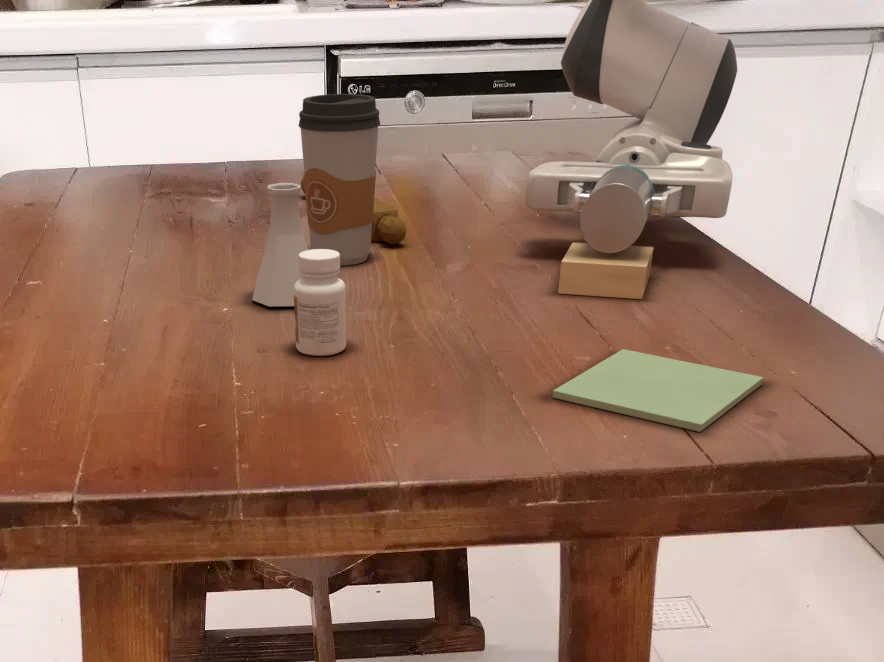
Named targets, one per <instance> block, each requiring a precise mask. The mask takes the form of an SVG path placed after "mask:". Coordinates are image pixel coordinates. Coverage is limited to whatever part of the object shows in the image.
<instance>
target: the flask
mask: <svg viewBox="0 0 884 662" xmlns="http://www.w3.org/2000/svg"><path fill="white" fill-rule="evenodd" d="M266 190H267V194H268V195H269V196H270V222H269V227H268V228H269V230H268V235H267V239H266V243H265V247H264V253H263V256H262V259H261V264H260V267H259V271H258V274H257V278H256V281H255V286H254V290H253V295H252V301H254V302H257V303H259V304H262V305H264V306H267V307H294V285H295V283H296V282H297V281H298V280H299V279H301V274H299V254H300V253H301V252H303V251H307V250H310V249H309V246H308V243H307V240H306V237H305V234H304V230H303V226H302V221H301V215H300V211H299V195H300V194H301V190H302V189H301V184H298V183H294V182H279V183H273V184H268V185H267V187H266Z"/></svg>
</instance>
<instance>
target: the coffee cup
mask: <svg viewBox="0 0 884 662" xmlns="http://www.w3.org/2000/svg"><path fill="white" fill-rule="evenodd" d="M298 115H299V121H298V127H299V128H300V137H301V139H300V140H301V149H302V163H303V176H304V183H305V194H304V195H305V206H306V216H307V224H308V232H309V245H310V250H312V249H330V250H335V251H337V252H339V254H340V266H351V265H357V264H362V263H364V262H366V261H367V260H368V255H369V254H371V242H372V241H371V229H372V222H373V210H374V197H375V194H376V179H377V171H376V165H377V149H378V134H379V126H381V120H380V109H378V108H377V102H376V97H375V96H373V95H368V94H357V93H331V94H319V95H312V96H308V97H305V98H303V99H302V110H300V111H299V114H298Z"/></svg>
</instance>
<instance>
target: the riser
mask: <svg viewBox="0 0 884 662" xmlns="http://www.w3.org/2000/svg"><path fill="white" fill-rule="evenodd" d="M654 249H655V248H654V246H643V245H642V246H641V245H630V246H629V247H628V248H626V249H624V250H622V251H619V252H614V253H606V252H601V251H598V250H596V249H595V248H593V247H592V246H590V245H589V244H588V242H575V241H574V242H572V243H571V244H570V245H569V248H568V249H567V251H566V253H565V254H564V256H563V258H562V259H561V262H560V271H559V281H558V288H557V289H558V290H557V294H561V295H574V296H588V297H602V298H618V299H629V300H631V299H632V300H642V299H643V297H644V294H645V292H646V288H647V286H648V282H649V279H650V274H651V267H652V261H653V254H654Z"/></svg>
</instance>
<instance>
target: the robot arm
mask: <svg viewBox="0 0 884 662" xmlns="http://www.w3.org/2000/svg"><path fill="white" fill-rule="evenodd" d="M560 65H561V69H562V72H563V73H562V74H563V75H564V78H565V81H566V83H567V85H568V88H569V89H570V91H571V93H572V95H573V96H574V97H577V98H580V99H583V100H587V101H590V102H594V103H596V104H600V105H603V104H604V105H606V106H609V107H611V108H613V109H616V110H618V111H620V112H622V113H625V114H626V115H629V116H632V117H634V118H633V119H631V120H629V121H628V122H626V123H624V125H622V126H621V127H620V128H619V129H618V130H617V131H616V132H615V133H613V135H612V136H611V138H610V139H609V140H608V142H607V144H606V145H605V146H604V148H603V149H602V151H601V152H600V154H599V155H598V157H597V158H596V159H595V161H568V160H567V161H566V160H557V161H547V162H544V163H541V164H540V165H537V166H536V167H534V168H533V169H531V170H530V171H529V173H528V176H527V183H526V196H525V205H526V207H527V208H528V209H529V210H532V211H547V212H568V213H569V212H570V213H573V214H581V211H582V208H583V206H584V203H585V202H586V200H587V198H588V197H589V195H590V194H591V192H592V190H593V189H594V187H595V185H596V183H597V182H598V180H599V179H600V178H601V177H602V176H603V175H604V174H605V173H606V172H607V171H609V170H610V169H612V168H615V167H618V166H623V165H629V166H634V167H637V168H639V169H641V170H642V171H644V172H645V173H646V174H647V176H648V177H649V178H650V180H651V182H652V185H653V188H654V193H653V196H652V198H651V208H650V212H649V216H648V218H647V220H646V222H655V221H661V220H664V219H670V218H671V219H672V218H673V219H676V218H706V219H721V218H724V217H725V216H726V215H727V213H728V208H729V207H728V206H729V203H730V197H731V191H732V185H733V171H732V168H731V166H730V164H729V163H728V161H727V160H725V159H723V153H724V152H723V151H724V150H723V148H721V147H720V146H715V145H710V144H708V143H709V141H710V140H711V138H712V136H713V135H714V133H715V131H716V129H717V128H718V125H719V123H720V121H721V119H722V117H723V114H724V112H725V110H726V107H727V105H728V103H729V100H730V97H731V94H732V91H733V88H734V85H735V81H736V78H737V74H738V62H737V54H736V50H735V46H734V44H733V42H732V40H731V38H728V37H726V36H724V35H722V34H720V33H717V32H715V31H713V30H711V29H709V28H706V27H704V26H701V25H699V24H697V23H694V22H692V21H691V22H690V21H687V20H685V19H682V18H681V17H678V16H675V15H673V14H671V13H668V12H666V11H664V10H662V9H659V8H657V7H654V6H653V5H650V4H648V3H646V2H645V1H644V0H588V1H587V3H586V4H585V5H584V7H583V8H582V9H581V10H580V12H579V13H578V15H577V17H576V18H575V20H574V22H573V23H572V25H571V27H570V30H569V31H568V33H567V35H566V38H565V42H564V45H563V49H562V55H561V60H560Z"/></svg>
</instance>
